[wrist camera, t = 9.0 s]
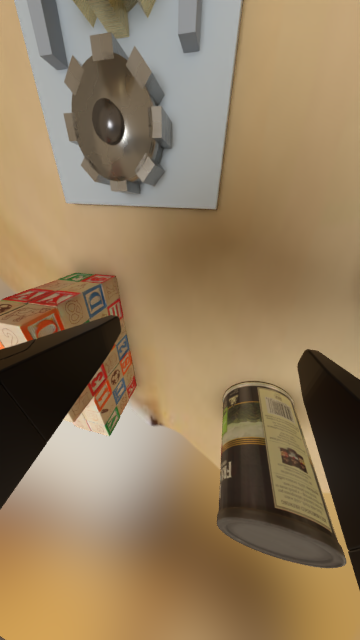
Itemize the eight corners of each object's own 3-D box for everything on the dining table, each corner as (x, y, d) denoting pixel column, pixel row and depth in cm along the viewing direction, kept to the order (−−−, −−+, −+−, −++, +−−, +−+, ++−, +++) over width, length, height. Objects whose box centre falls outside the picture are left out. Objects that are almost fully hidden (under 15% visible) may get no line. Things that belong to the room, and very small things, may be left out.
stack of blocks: (138, 385, 33) (96, 462, 23) (109, 379, 34) (57, 448, 24) (116, 274, 22) (15, 327, 12) (74, 271, 23) (-49, 316, 13)
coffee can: (223, 417, 31) (218, 538, 20) (222, 377, 26) (214, 508, 15) (288, 428, 28) (327, 577, 17) (301, 385, 23) (369, 556, 12)
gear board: (292, -392, 6) (324, -715, 4) (216, 209, 16) (214, 208, 14) (-23, -213, 9) (-103, -347, 7) (75, 203, 19) (54, 202, 16)
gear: (172, 57, 11) (156, 12, 9) (171, 194, 15) (159, 191, 13) (77, 69, 13) (38, 34, 10) (98, 193, 16) (74, 189, 14)
